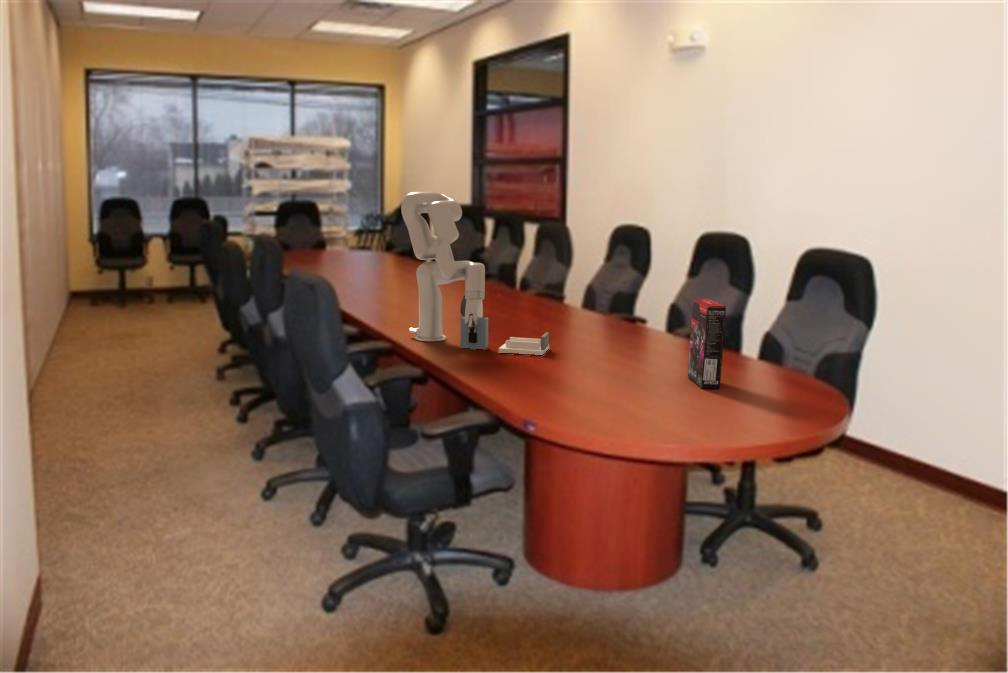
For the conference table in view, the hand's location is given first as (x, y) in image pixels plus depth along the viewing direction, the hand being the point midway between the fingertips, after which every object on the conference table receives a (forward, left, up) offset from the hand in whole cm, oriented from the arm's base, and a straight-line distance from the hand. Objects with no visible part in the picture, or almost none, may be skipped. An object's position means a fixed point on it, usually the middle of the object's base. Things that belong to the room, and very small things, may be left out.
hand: (474, 341), depth 347 cm
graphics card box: (+88, -34, -3) cm, 94 cm away
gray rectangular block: (0, 0, -3) cm, 3 cm away
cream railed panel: (+20, 0, -3) cm, 20 cm away
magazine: (-17, +58, -3) cm, 60 cm away
